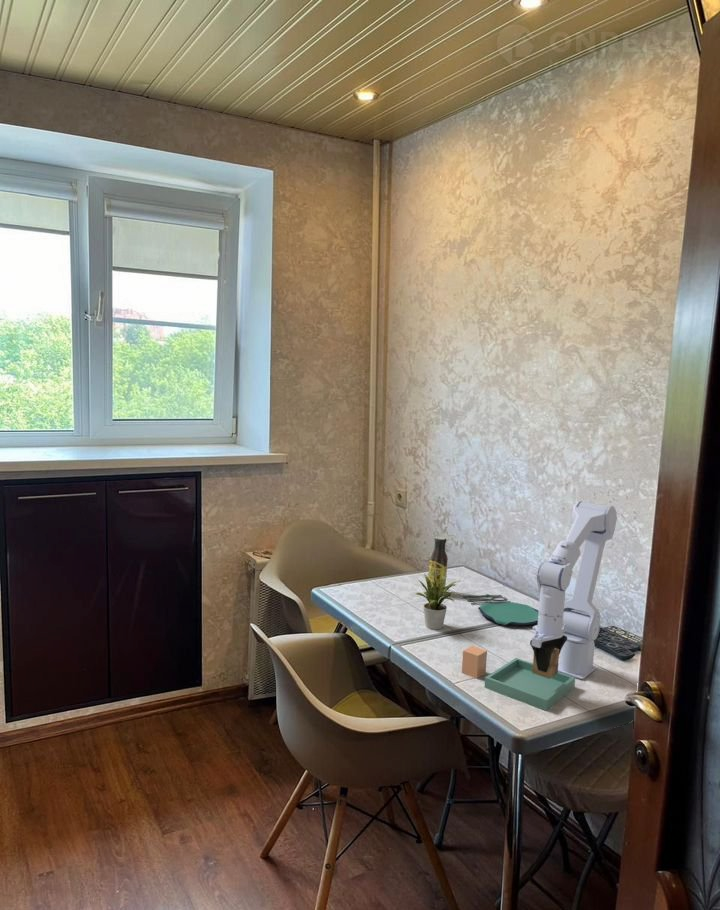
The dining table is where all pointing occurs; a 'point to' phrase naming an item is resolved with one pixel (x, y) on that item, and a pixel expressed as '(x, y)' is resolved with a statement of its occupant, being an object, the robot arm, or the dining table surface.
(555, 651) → the walnut block
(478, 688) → the dining table surface
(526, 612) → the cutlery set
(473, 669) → the terracotta block
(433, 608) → the house plant
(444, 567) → the sauce bottle
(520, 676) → the tray
